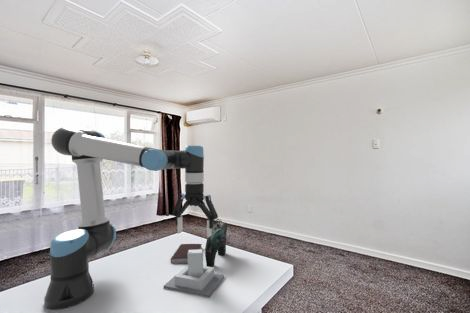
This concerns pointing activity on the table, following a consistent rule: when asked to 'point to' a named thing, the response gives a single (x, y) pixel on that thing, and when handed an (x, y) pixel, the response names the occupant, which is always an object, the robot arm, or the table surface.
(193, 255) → the skincare box
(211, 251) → the dark green figurine
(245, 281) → the table surface
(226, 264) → the table surface
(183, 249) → the book
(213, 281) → the socket dock
